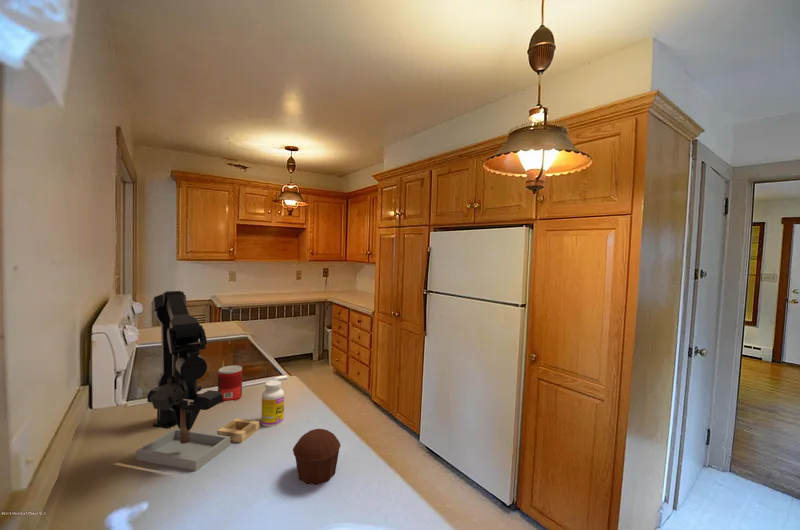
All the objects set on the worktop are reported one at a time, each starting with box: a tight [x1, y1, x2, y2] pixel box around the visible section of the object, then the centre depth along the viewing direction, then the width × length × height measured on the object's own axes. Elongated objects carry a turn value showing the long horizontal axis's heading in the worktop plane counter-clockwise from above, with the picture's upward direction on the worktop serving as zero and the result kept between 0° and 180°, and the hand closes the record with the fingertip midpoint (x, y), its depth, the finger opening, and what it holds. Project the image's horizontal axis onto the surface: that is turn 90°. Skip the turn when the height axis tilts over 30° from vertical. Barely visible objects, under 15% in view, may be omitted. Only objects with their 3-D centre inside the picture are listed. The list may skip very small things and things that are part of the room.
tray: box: [135, 427, 231, 472], centre depth 95 cm, size 18×12×3 cm, turn 77°
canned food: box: [217, 365, 243, 403], centre depth 131 cm, size 8×8×11 cm
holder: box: [216, 417, 260, 444], centre depth 105 cm, size 8×8×3 cm
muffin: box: [292, 428, 342, 486], centre depth 87 cm, size 12×11×10 cm
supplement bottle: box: [260, 379, 285, 428], centre depth 112 cm, size 7×7×13 cm
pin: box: [180, 406, 191, 444], centre depth 94 cm, size 2×2×9 cm
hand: (185, 428), depth 94 cm, fingers closed on pin, 2 cm apart
